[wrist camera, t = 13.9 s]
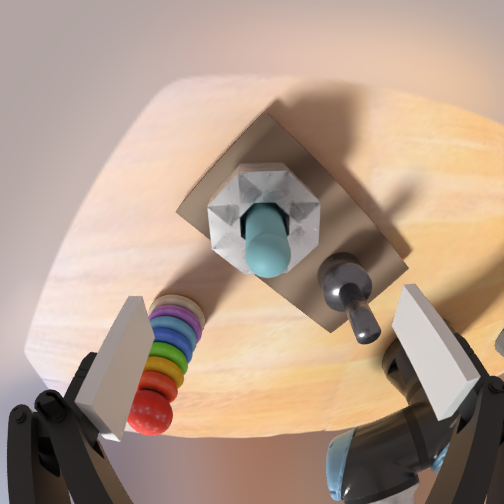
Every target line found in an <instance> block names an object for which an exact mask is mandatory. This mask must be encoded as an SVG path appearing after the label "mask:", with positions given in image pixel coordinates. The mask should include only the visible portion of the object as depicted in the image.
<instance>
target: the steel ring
mask: <svg viewBox="0 0 504 504" xmlns="http://www.w3.org/2000/svg"><path fill="white" fill-rule="evenodd" d="M266 202H275V203H276V204H277V205H278V206H280V207H281V208H282V209H283V210H284V218H283V219H282V221H283V225H284V228H285V232H286V235H287V239H288V242H289V246H290V250H291V260H290V263H289V265H288V267H287V269H286V270H285V271H284V272H283V273H288V272H289V271H290V270H291V269H292V268H293V267H294V266H295V265H297V264H298V263H299V262H300V261H301V260H302V259H303V258H304V257H305V256H307V255H308V254H309V253H310V252H311V251H312V250H313V249H314V248H315V247H316V246H318V245H319V244H318V241H319V224H320V201H319V200H318V198H317V197H316V196H315V194H314V193H313V192H312V190H311V189H309V188H308V187H307V186H306V185H305V184H304V183H303V182H302V181H301V180H300V179H299V178H298V177H297V176H296V175H295V174H294V173H293V172H292V171H291V170H290V169H289V168H288V167H287V166H286V165H285V164H283V162H274V163H246V164H240V165H239V166H238V167H237V168H236V169H235V170H234V171H233V172H232V173H231V174H230V175H229V177H228V178H227V179H226V180H225V181H224V182H223V183H222V184H221V185H220V186H219V188H218V189H217V190H216V191H215V192H214V193H213V195H212V197H211V199H210V202H209V204H208V206H207V209H208V218H209V228H210V237H211V246H212V250H214V251H215V252H216V253H217V254H219V255H220V256H221V257H223V258H224V259H225V260H226V261H228V262H229V263H230V264H232V265H233V266H234V267H235V268H237V269H238V270H239V271H241V272H242V273H243V274H244V275H250V274H255V273H253V272H252V271H251V270H250V268H249V267H248V265H247V263H246V259H245V240H246V222H245V221H243V220H242V215H243V214H244V212H245V211H246V210H247V209H248V208H249V207H250V206H251V205H252V204H253V203H266Z"/></svg>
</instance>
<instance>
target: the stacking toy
mask: <svg viewBox="0 0 504 504" xmlns="http://www.w3.org/2000/svg"><path fill="white" fill-rule="evenodd" d="M149 321H150V324H151V327H152V330H153V333H154V336H155V338H154V341H153V344H152V347H151V350H150V352H149V355H148V358H147V361H146V364H145V367H144V369H143V372H142V375H141V378H140V381H139V384H138V387H137V390H136V393H135V397H134V400H133V403H132V406H131V409H130V412H129V415H128V419H127V422H128V423H129V425H130V426H131V427H132V428H133V429H134V430H136V431H137V432H139V433H141V434H144V435H151V436H152V435H153V436H154V435H159V434H161V433H163V432H165V431H166V430H167V429H168V428H169V426H170V424H171V422H172V418H173V412H172V408H171V406H170V404H169V403H171V402H172V401H174V400H175V398H176V397H177V394H178V390H177V389H178V388H180V387H181V385H182V384H183V381H184V375H185V373H186V371H187V368H188V363H189V362H190V361H191V359H192V353H193V351H194V350H195V347H196V344H197V343H198V342H199V340H200V338H201V335H202V331H203V329H204V326H205V317H204V314H203V312H202V310H201V308H200V307H199V306H198V305H197V304H196V303H195V302H193V301H192V300H190V299H188V298H186V297H184V296H180V295H165V296H161V297H159V298H158V299H156V300H155V301H154V302H153V303H152V305H151V306H150V309H149Z"/></svg>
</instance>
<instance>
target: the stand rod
mask: <svg viewBox="0 0 504 504" xmlns="http://www.w3.org/2000/svg"><path fill="white" fill-rule="evenodd" d="M317 278H318V282H319V285H320V288H321V290H322V293H323V296H324V299H325V302H326V304H327V305H328V306H329V307H330V308H331V309H333V310H335V311H339V312H346V314H347V316H348V319H349V321H350V324H351V326H352V329H353V331H354V334H355V336H356V339H357V341H358V342H359V343H360V344H370V343H372V342H374V341H375V340H377V339H378V337H379V336H380V334H381V329H380V327H379V325H378V323H377V321H376V319H375V317H374V315H373V313H372V311H371V309H370V307H369V305H368V303H367V302H366V301H367V299H368V298H369V296H370V294H371V291H372V281H371V279H370V277H369V275H368V274H367V272H366V271H365V269H364V267H363V266H362V264H361V263H360V261H359V260H358V258H357V257H356V256H354V255H353V254H350V253H346V252H340V253H335V254H333V255H331V256H329V257H327V258H326V259H325V260H324V261H323V262H322V263H321V265H320V267H319V269H318V273H317Z"/></svg>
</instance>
